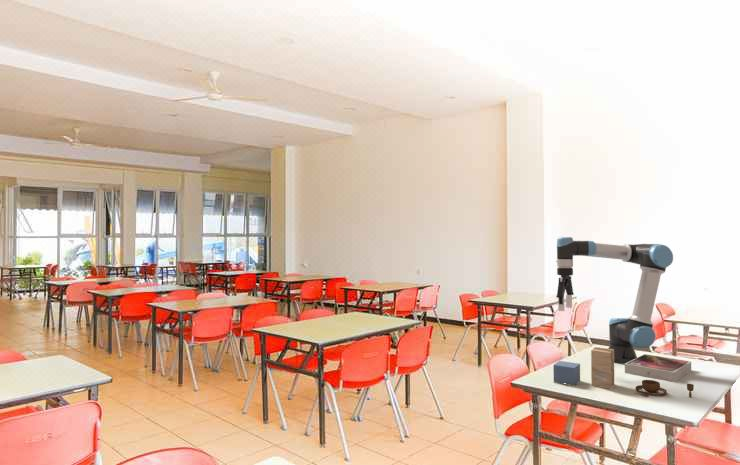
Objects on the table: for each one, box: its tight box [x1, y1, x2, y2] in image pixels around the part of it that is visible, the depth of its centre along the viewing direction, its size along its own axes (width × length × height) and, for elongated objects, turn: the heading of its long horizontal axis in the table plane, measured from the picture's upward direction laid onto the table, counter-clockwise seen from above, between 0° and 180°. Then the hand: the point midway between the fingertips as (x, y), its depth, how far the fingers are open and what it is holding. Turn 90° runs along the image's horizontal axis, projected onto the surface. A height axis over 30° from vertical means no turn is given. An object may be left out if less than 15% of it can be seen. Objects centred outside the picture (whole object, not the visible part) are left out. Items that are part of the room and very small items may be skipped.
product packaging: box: [624, 354, 692, 383], centre depth 250 cm, size 22×28×5 cm
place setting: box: [634, 379, 695, 399], centre depth 214 cm, size 18×20×6 cm
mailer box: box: [590, 346, 615, 390], centre depth 228 cm, size 8×8×16 cm
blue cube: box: [553, 360, 581, 386], centre depth 234 cm, size 9×9×8 cm
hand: (565, 309), depth 254 cm, fingers open, 13 cm apart
